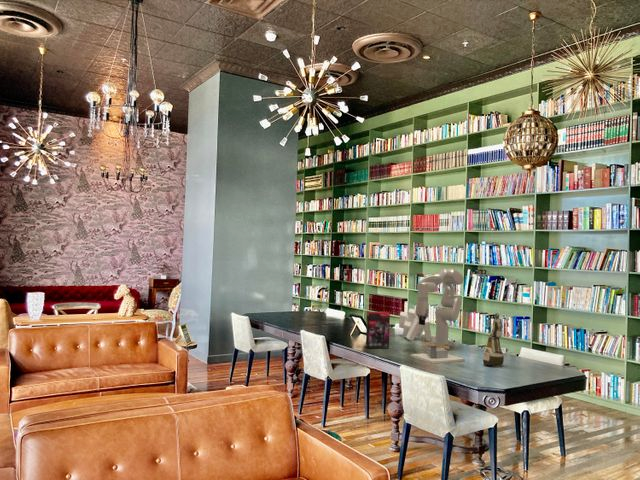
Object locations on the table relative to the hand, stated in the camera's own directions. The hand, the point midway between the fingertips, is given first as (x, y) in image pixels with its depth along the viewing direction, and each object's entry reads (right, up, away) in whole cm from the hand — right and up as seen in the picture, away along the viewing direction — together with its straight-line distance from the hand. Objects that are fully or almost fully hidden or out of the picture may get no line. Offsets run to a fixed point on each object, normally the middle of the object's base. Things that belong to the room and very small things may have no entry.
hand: (421, 324), depth 366 cm
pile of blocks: (+6, -23, +64) cm, 68 cm away
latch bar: (+8, -14, -10) cm, 19 cm away
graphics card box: (-31, -20, +14) cm, 40 cm away
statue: (+42, -23, -30) cm, 56 cm away
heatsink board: (+7, -21, -16) cm, 28 cm away
